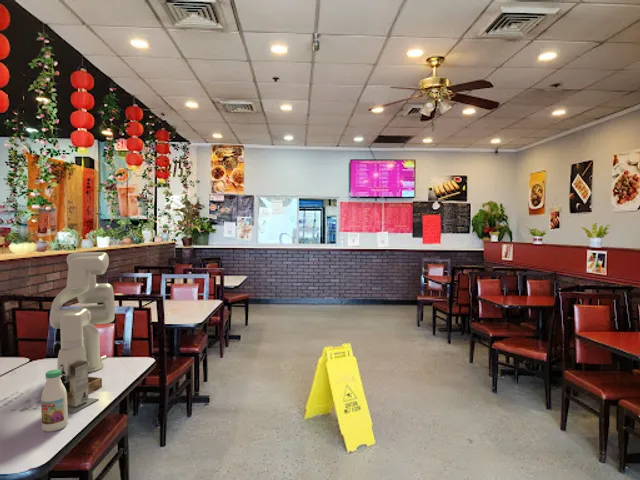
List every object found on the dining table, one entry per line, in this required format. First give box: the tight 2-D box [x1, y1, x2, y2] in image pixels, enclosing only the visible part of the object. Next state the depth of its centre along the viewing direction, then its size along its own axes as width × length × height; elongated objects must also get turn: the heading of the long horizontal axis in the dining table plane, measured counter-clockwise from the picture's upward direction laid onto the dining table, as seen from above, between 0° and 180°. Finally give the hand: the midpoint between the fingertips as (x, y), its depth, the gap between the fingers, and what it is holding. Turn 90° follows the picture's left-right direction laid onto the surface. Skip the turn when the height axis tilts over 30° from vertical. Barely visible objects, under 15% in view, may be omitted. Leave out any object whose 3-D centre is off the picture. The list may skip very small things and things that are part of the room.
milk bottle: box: [40, 369, 69, 433], centre depth 145 cm, size 8×8×20 cm
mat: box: [67, 397, 99, 415], centre depth 163 cm, size 12×12×1 cm
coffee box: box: [61, 361, 90, 407], centre depth 162 cm, size 9×6×16 cm
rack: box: [88, 376, 103, 395], centre depth 178 cm, size 10×13×4 cm
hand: (73, 387), depth 162 cm, fingers closed on coffee box, 6 cm apart
